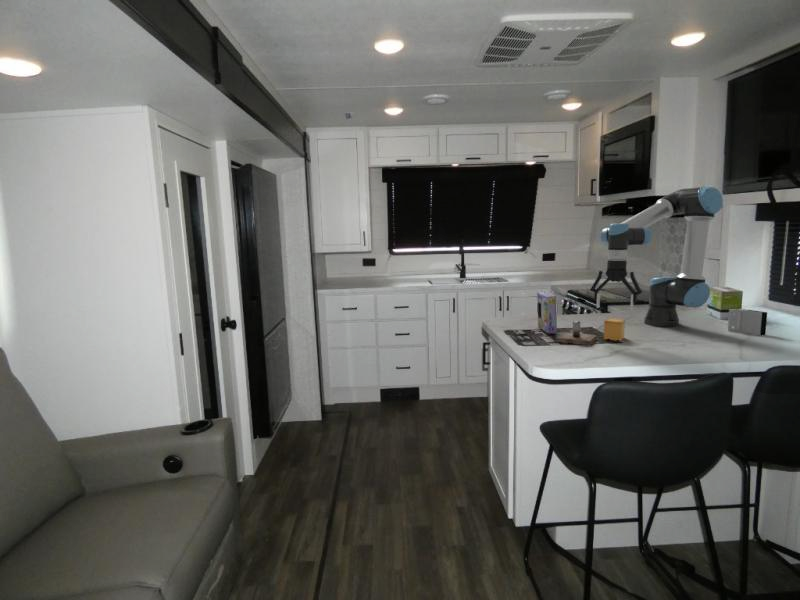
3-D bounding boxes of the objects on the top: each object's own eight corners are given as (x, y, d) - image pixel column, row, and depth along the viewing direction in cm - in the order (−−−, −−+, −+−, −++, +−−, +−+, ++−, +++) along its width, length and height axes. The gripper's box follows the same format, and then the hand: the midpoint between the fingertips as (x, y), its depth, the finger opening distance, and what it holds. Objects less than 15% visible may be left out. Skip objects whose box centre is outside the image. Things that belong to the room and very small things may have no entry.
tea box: (705, 314, 262) (707, 286, 260) (726, 314, 261) (728, 286, 258) (719, 319, 247) (722, 290, 245) (741, 319, 246) (744, 290, 244)
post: (580, 336, 212) (581, 321, 211) (579, 337, 210) (579, 322, 209) (573, 335, 214) (574, 320, 213) (571, 336, 212) (572, 321, 211)
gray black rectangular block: (726, 331, 223) (728, 309, 222) (731, 329, 226) (733, 307, 225) (763, 336, 212) (765, 313, 211) (767, 334, 215) (769, 311, 214)
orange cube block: (624, 337, 216) (624, 319, 215) (621, 340, 210) (621, 322, 209) (607, 335, 220) (607, 318, 219) (603, 339, 214) (604, 321, 213)
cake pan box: (536, 325, 245) (536, 290, 242) (546, 325, 245) (546, 290, 242) (546, 334, 226) (546, 296, 223) (557, 334, 226) (558, 296, 223)
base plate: (596, 339, 213) (596, 335, 213) (589, 345, 204) (589, 341, 203) (563, 336, 221) (563, 332, 221) (555, 342, 211) (555, 337, 211)
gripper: (584, 259, 214) (582, 307, 217) (648, 261, 200) (645, 312, 203) (588, 258, 220) (586, 305, 223) (650, 260, 206) (647, 309, 209)
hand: (614, 309), depth 213 cm, fingers open, 13 cm apart
